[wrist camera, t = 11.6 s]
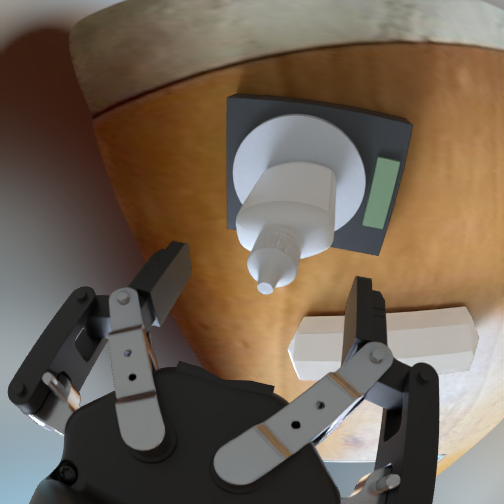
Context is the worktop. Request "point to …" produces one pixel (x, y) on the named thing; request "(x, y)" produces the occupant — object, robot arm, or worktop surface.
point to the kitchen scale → (321, 158)
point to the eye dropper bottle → (287, 220)
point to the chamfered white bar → (390, 341)
